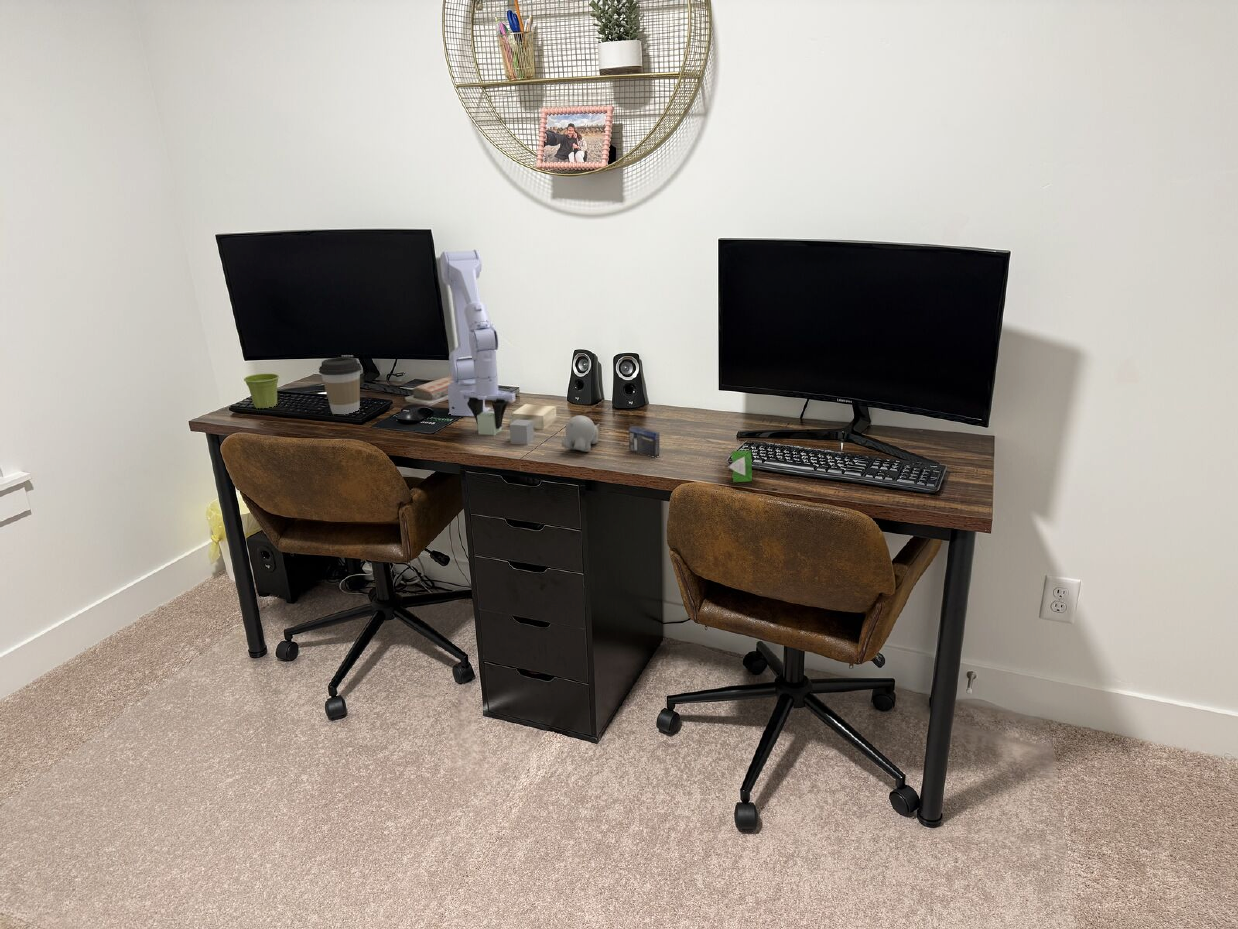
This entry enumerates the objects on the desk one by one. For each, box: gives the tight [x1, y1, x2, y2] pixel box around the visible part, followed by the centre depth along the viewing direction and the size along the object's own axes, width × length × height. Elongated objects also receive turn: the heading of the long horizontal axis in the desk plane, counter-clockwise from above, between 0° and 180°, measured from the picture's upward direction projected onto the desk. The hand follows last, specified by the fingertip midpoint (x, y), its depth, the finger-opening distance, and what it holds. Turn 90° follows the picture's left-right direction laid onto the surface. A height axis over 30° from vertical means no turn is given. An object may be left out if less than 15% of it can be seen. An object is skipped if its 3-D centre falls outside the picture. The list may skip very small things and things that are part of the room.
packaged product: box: [404, 375, 453, 407], centre depth 255 cm, size 18×5×10 cm
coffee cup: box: [318, 356, 362, 415], centre depth 238 cm, size 11×11×15 cm
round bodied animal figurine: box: [561, 414, 600, 453], centre depth 208 cm, size 7×12×8 cm, turn 148°
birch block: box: [511, 403, 557, 430], centre depth 228 cm, size 9×9×4 cm
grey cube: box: [509, 419, 535, 446], centre depth 214 cm, size 4×4×5 cm
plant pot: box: [243, 373, 280, 409], centre depth 247 cm, size 9×9×9 cm
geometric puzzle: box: [724, 449, 760, 483], centre depth 186 cm, size 7×7×8 cm
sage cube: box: [477, 410, 503, 436], centre depth 221 cm, size 4×4×5 cm
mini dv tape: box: [628, 425, 660, 458], centre depth 203 cm, size 8×2×6 cm, turn 48°
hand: (489, 426), depth 221 cm, fingers closed on sage cube, 4 cm apart
